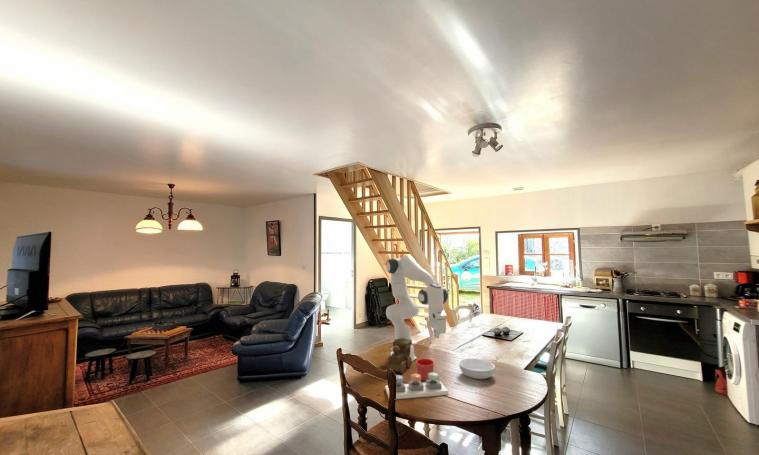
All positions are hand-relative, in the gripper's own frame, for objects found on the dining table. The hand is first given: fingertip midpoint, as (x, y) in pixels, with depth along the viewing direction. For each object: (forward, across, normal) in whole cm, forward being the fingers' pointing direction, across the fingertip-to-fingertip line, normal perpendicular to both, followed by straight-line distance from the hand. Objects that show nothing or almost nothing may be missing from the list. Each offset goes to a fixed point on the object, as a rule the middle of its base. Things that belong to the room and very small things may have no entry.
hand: (436, 337), depth 174 cm
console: (+27, +4, -14) cm, 31 cm away
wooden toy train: (+27, -29, -16) cm, 43 cm away
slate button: (+23, +4, -24) cm, 33 cm away
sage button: (+23, +4, -4) cm, 24 cm away
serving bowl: (+27, -10, +28) cm, 41 cm away
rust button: (+23, +4, -14) cm, 27 cm away
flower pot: (+27, -12, -4) cm, 30 cm away
